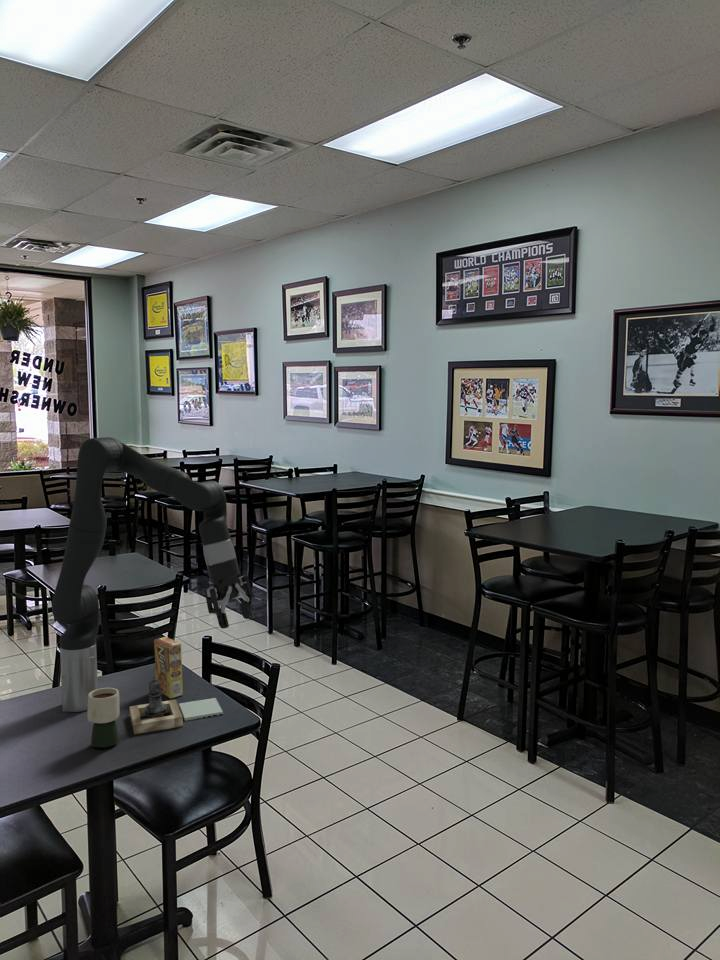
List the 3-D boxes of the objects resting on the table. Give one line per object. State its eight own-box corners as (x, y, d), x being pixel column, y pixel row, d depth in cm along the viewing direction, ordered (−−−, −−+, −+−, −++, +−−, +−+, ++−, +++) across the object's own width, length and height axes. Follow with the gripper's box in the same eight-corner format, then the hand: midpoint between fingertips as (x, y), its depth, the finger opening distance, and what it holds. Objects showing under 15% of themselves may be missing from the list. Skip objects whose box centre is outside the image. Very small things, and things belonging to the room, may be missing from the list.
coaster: (184, 720, 185) (184, 717, 185) (179, 706, 194) (179, 703, 194) (222, 714, 189) (222, 711, 189) (215, 700, 198) (215, 697, 198)
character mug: (108, 732, 178) (106, 683, 177) (131, 737, 176) (130, 686, 175) (77, 752, 168) (75, 699, 167) (102, 757, 166) (100, 703, 164)
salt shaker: (160, 726, 182) (159, 681, 181) (139, 724, 183) (138, 679, 182) (171, 717, 188) (170, 673, 186) (151, 715, 189) (149, 671, 188)
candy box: (183, 695, 202) (182, 643, 201) (170, 699, 199) (168, 646, 198) (168, 686, 208) (166, 636, 207) (154, 690, 205) (153, 639, 204)
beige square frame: (134, 734, 177) (133, 724, 177) (129, 715, 188) (129, 706, 188) (182, 726, 182) (182, 716, 182) (175, 708, 193) (175, 699, 193)
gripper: (229, 555, 185) (243, 615, 185) (190, 568, 173) (205, 632, 173) (250, 551, 181) (265, 612, 181) (212, 564, 169) (228, 630, 169)
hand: (236, 622), depth 177 cm, fingers open, 8 cm apart
